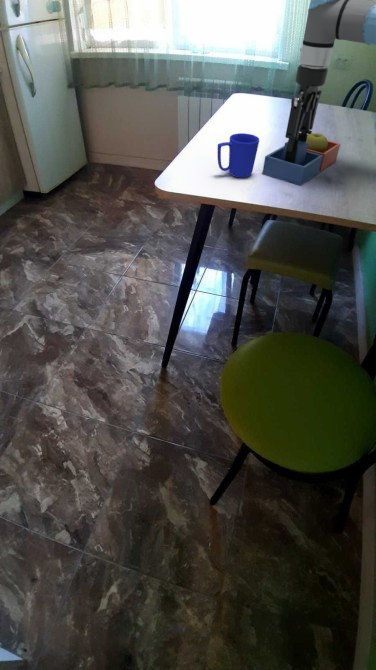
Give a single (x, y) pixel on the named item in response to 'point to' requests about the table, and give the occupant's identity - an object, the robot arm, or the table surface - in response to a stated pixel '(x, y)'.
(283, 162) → the blue bin
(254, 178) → the table surface
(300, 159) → the block
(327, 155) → the red bin
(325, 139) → the apple
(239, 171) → the mug
